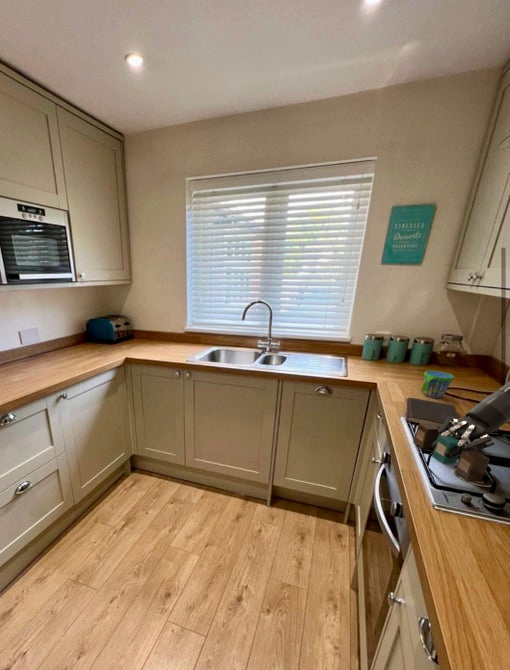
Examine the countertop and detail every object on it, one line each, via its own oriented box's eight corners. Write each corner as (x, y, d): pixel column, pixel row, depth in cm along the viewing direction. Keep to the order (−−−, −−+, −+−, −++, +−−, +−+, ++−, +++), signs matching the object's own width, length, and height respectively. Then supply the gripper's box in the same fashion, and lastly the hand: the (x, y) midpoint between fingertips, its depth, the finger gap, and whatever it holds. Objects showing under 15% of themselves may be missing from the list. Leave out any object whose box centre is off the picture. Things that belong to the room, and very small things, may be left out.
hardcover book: (452, 410, 131) (454, 405, 131) (460, 432, 113) (462, 426, 112) (406, 402, 139) (408, 397, 138) (406, 421, 120) (407, 415, 120)
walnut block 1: (424, 446, 103) (431, 423, 100) (433, 452, 100) (440, 429, 97) (411, 446, 103) (418, 423, 100) (420, 453, 99) (427, 429, 96)
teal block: (442, 459, 96) (451, 435, 93) (454, 467, 92) (463, 442, 89) (430, 460, 96) (438, 436, 93) (440, 468, 92) (449, 443, 89)
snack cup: (430, 401, 140) (437, 379, 136) (409, 393, 149) (414, 371, 145) (456, 398, 145) (464, 376, 141) (434, 390, 154) (440, 369, 150)
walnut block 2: (466, 476, 88) (476, 450, 85) (479, 485, 84) (490, 459, 82) (452, 477, 88) (461, 451, 85) (464, 486, 84) (474, 459, 81)
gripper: (525, 432, 84) (467, 474, 87) (475, 409, 97) (426, 447, 100) (515, 413, 81) (455, 458, 84) (465, 393, 94) (415, 432, 98)
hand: (440, 452), depth 92 cm, fingers closed on teal block, 4 cm apart
